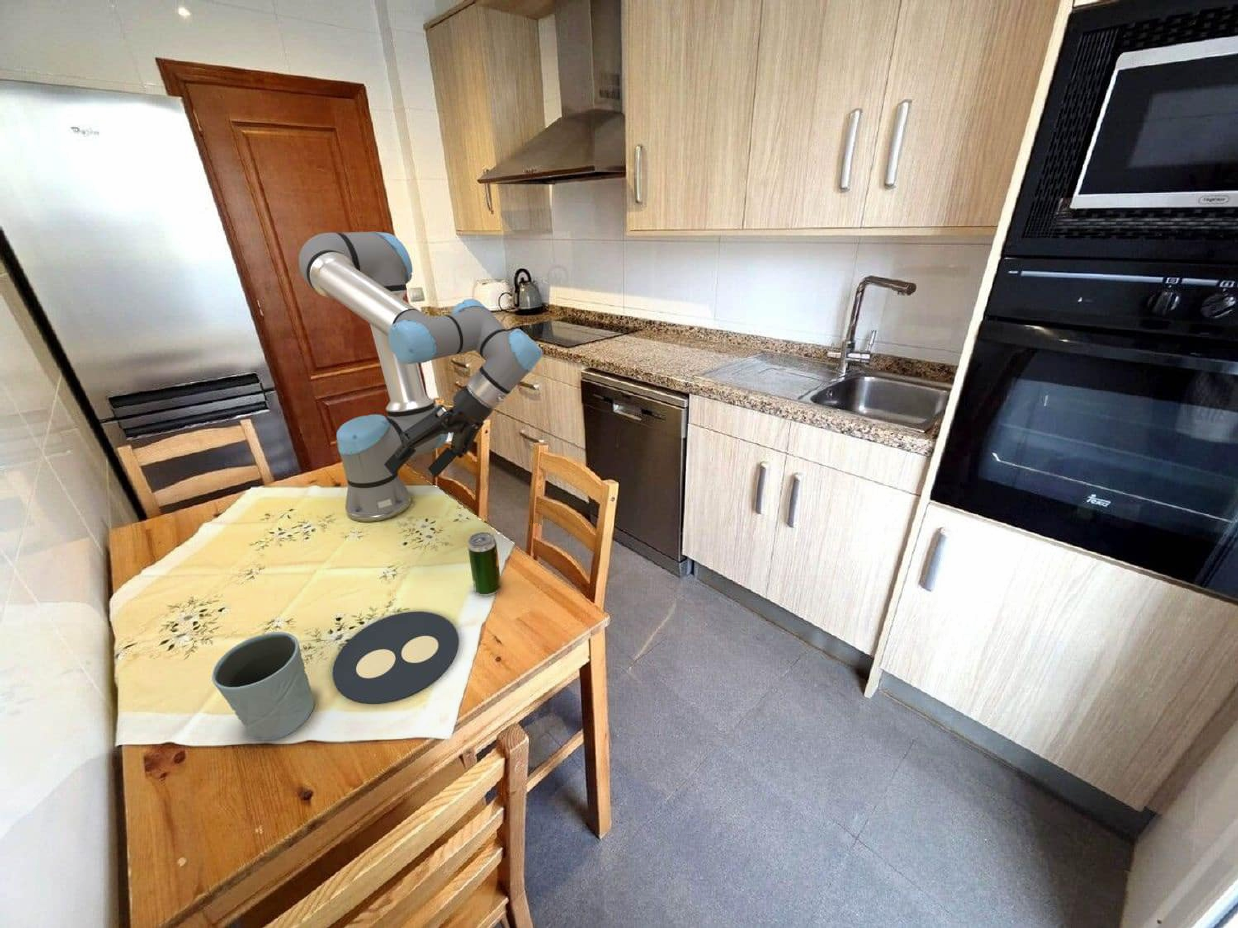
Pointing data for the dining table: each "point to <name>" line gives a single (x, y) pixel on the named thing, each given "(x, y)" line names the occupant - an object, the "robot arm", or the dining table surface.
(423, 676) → the spotted mat
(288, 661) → the gray plant pot
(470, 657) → the dining table surface
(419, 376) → the robot arm
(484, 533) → the beer can
